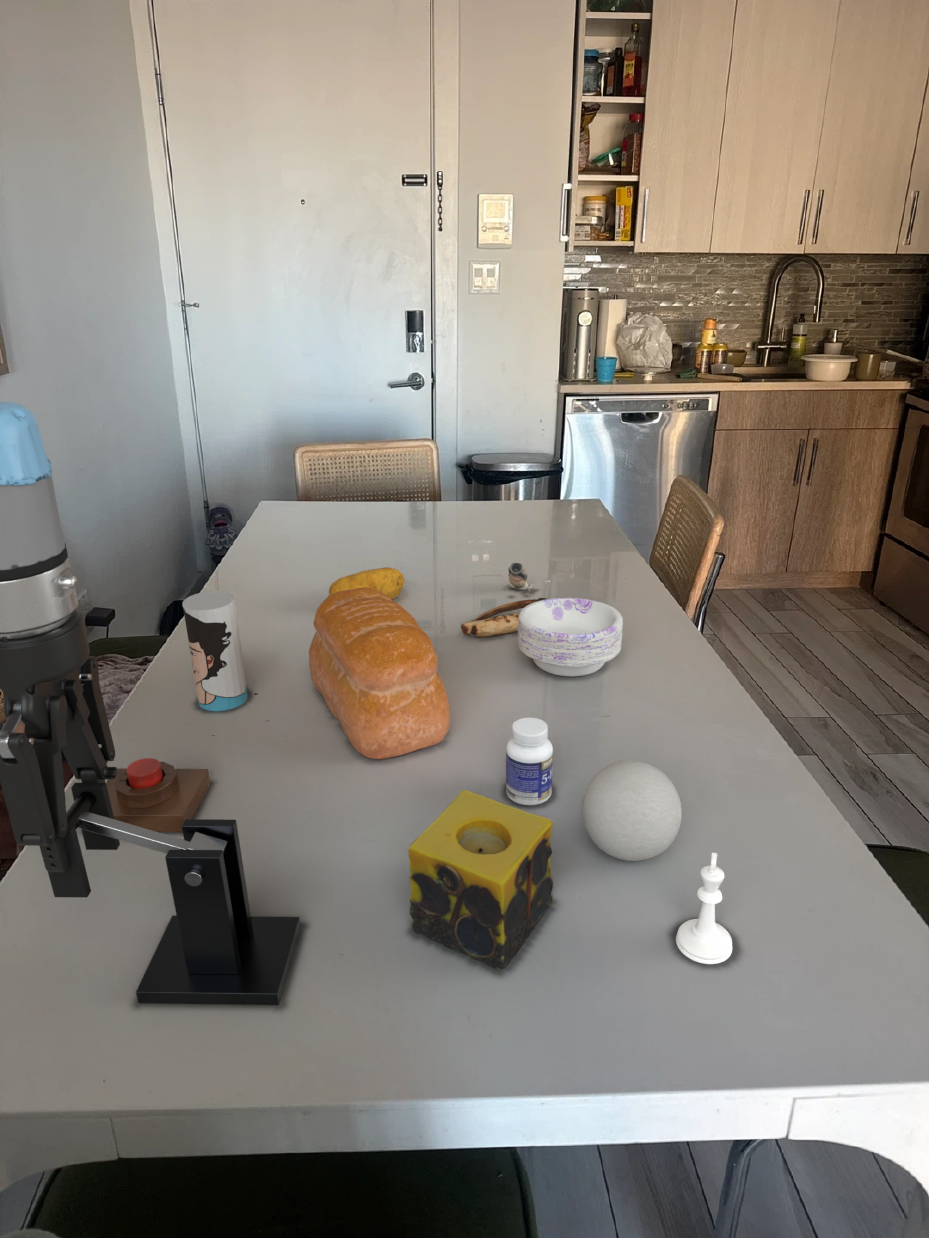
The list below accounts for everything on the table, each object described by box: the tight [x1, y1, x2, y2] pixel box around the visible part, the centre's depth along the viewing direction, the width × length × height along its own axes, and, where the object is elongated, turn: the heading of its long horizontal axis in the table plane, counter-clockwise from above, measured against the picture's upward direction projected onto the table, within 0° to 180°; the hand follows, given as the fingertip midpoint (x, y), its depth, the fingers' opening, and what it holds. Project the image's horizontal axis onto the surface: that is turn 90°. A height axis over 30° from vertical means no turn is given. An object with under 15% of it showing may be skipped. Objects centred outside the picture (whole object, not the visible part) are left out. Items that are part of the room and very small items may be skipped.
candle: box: [407, 789, 554, 971], centre depth 80 cm, size 10×10×10 cm
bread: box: [308, 587, 451, 760], centre depth 115 cm, size 14×26×15 cm, turn 24°
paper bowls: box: [517, 597, 624, 678], centre depth 128 cm, size 15×15×8 cm
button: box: [126, 757, 163, 788], centre depth 97 cm, size 4×4×2 cm
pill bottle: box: [505, 717, 554, 806], centre depth 98 cm, size 5×5×9 cm
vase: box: [507, 562, 537, 592], centre depth 155 cm, size 5×5×6 cm
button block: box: [105, 761, 212, 833], centre depth 98 cm, size 11×9×4 cm
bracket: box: [135, 818, 301, 1006], centre depth 75 cm, size 12×9×14 cm
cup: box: [182, 590, 249, 712], centre depth 119 cm, size 7×7×15 cm
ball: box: [581, 760, 683, 862], centre depth 89 cm, size 10×10×10 cm
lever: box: [66, 792, 227, 855], centre depth 72 cm, size 13×5×2 cm, turn 88°
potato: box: [328, 566, 406, 601], centre depth 150 cm, size 8×14×7 cm, turn 118°
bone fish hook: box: [460, 597, 548, 638], centre depth 141 cm, size 9×5×18 cm
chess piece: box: [675, 852, 733, 965], centre depth 77 cm, size 5×5×10 cm
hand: (88, 869), depth 74 cm, fingers closed on lever, 5 cm apart
